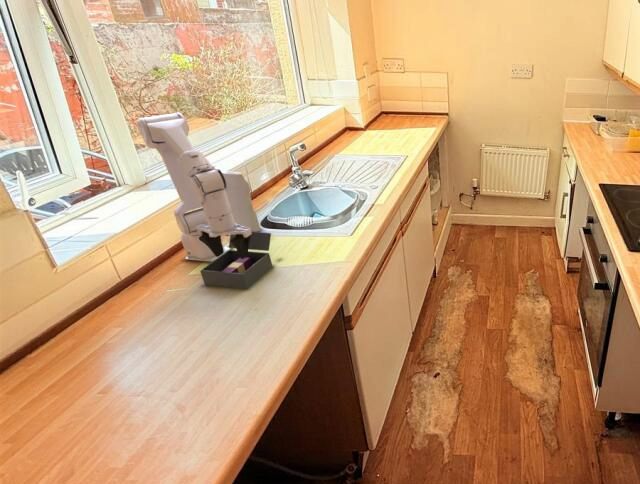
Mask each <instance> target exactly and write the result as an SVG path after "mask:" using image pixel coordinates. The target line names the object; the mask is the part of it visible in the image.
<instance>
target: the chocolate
mask: <svg viewBox="0 0 640 484" xmlns="http://www.w3.org/2000/svg"><path fill="white" fill-rule="evenodd" d="M251 266H252V263H251V260H250V258H246V257H245V258H244V259H241V258H239V259H237V260H236V261H235V262H233V263H232V264H231V265H229V266H228V267H227V268H225V269H224V270H223V271H221V272H231V273H242V274H243V273H244V272H245V271H246V270H247V269H249V268H250V267H251Z"/></svg>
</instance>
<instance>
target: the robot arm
mask: <svg viewBox="0 0 640 484" xmlns="http://www.w3.org/2000/svg"><path fill="white" fill-rule="evenodd" d="M136 125H137V128H138V131H139V133H140V135H141V137H142V139H143V142H144V144H145V145H146V146H147V148H149V149H155V150H156V151H157V153H158V154H159V155H160V156H161V159H162V161H163V163H164V166H165V168H166V170H167V172H168V175H169V177H170V179H171V181H172V183H173V186H174V188H175V190H176V192H177V194H178V197H179V199H180V203H179V204H178V206H177V207H175V209H174V212H173V215H174V217H175V221H176V225H177V227H178V229H179V230H180V231H181V233H182V234H181V237H180V238H181V239H180V240H181V241H180V242H181V244H182V247H183V249H184V252H185V254H186V257H184V259H185V260H187V261H199V262H200V261H201V262H209V263H211V262H213V261H214V260H216V259H217V258H219V257H220V256H221V255H223V254H224V253H226V252H227V251H229V250H232V248H229V246H225V245H224V243H223V240H222V236H230V235H236V237H234V238H233V239H232V240H230V239H229V241H230V242H231V243H232V244H233V245H234V246H235V248H234V249H236V250H237V252H238V254H239V257H240V258H241V259H244V258H245V257H247V256H248V251H249V249H248V247H249V241H250V238H251V236H252V232H251V229H250V228H247V227H243V226H241V225H238V224H236V223H235V222H234V218H233V215H232V212H231V208H230V205H229V202H228V199H227V195H226V192H225V190H224V189H226V188H227V182H226V179H225V177H224V175H223V173H222V172H223V171H222V170H221V169H220V168H218V167H217V166H216V165H212V164H211V162H210V161H209V160H208V159H207V157H206V156H205V155H204V153H203V152H202V151H200V150H196V149H194V147H193V145H192V143H191V142H190V140H189V138H188V136H189V132H190V126H189V122H188V121H187V119H186V117H185V116H184V115H183V114H182V113H180V112H175V113H168V114H162V115H161V114H160V115H154V116H148V117H139V118H137V121H136Z"/></svg>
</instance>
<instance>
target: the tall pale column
mask: <svg viewBox="0 0 640 484" xmlns="http://www.w3.org/2000/svg"><path fill="white" fill-rule="evenodd" d="M221 172H222V173H223V175H224V177H225V179H226V182H227V188H226V189H224V190H225V192H226V195H227V199H228V202H229V205H230V208H231V212H232V215H233V218H234V222H235V223H236V224H238V225H241V226H243V227H247V228H250V229H251V232H260V231H261V230H262V229H261V226H260V221H259V219H258V215H257V212H256V210H255V208H254V205H253V201H252V196H251V187H250V183H249V182H248V181H247V180H246V179H245V177H244V175H243V173H241V172H239V171H238V172H237V171H233V170H232V171H231V170H228V171H221Z"/></svg>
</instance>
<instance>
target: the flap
mask: <svg viewBox="0 0 640 484" xmlns="http://www.w3.org/2000/svg"><path fill="white" fill-rule="evenodd" d="M234 237H236V235H229V243H228V247H229V248H231V249H236V248H235V246H234V245H233V244H232V243H231V242H230V240H232V239H233V238H234ZM271 238H272V232H263V231H262V232H260V231H257V232H252V236H251V238H250V241H249V247H248V250H249V251H250V250H252V251H261V252H262V251H263V252H270V245H271Z"/></svg>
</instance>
